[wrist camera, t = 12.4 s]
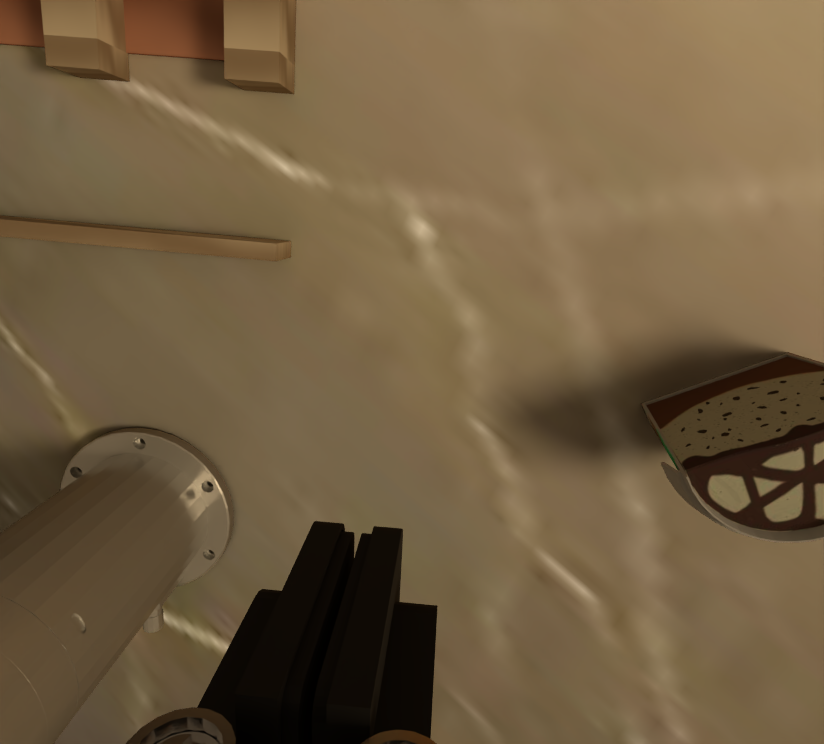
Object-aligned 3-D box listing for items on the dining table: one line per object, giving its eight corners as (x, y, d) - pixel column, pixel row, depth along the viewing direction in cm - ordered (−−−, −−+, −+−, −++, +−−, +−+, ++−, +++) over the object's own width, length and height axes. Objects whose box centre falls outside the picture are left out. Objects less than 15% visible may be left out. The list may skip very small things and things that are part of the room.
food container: (645, 490, 39) (708, 582, 29) (618, 411, 37) (675, 480, 28) (834, 429, 36) (969, 508, 27) (813, 343, 35) (947, 393, 26)
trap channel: (290, 257, 36) (273, 262, 32) (-99, 222, 37) (-155, 223, 34) (297, -76, 31) (277, -112, 27) (-152, -104, 32) (-225, -142, 29)
